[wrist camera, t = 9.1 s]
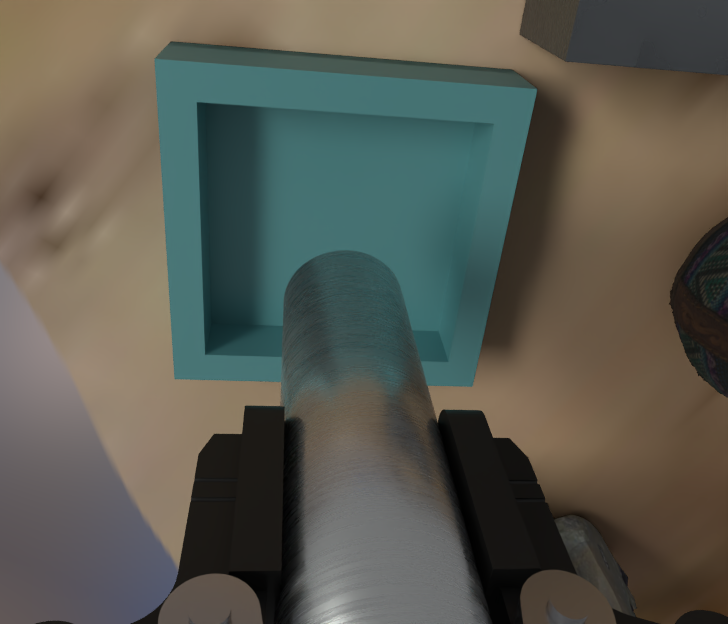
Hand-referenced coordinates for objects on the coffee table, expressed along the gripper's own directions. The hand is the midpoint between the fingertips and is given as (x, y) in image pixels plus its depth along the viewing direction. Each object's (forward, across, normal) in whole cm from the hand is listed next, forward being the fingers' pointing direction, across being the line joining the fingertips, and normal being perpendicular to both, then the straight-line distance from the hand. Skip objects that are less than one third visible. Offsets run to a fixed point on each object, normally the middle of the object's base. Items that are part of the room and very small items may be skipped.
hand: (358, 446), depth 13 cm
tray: (+11, 0, 0) cm, 11 cm away
